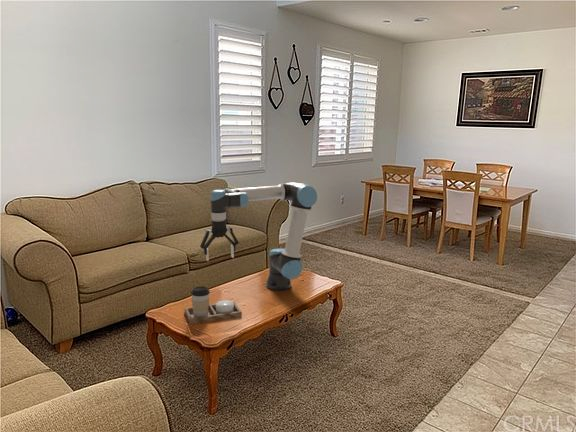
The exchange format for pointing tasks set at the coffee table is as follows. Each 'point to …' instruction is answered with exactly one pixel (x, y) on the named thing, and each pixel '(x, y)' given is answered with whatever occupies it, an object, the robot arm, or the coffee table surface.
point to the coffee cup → (200, 301)
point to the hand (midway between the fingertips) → (220, 258)
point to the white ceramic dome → (224, 307)
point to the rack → (211, 314)
